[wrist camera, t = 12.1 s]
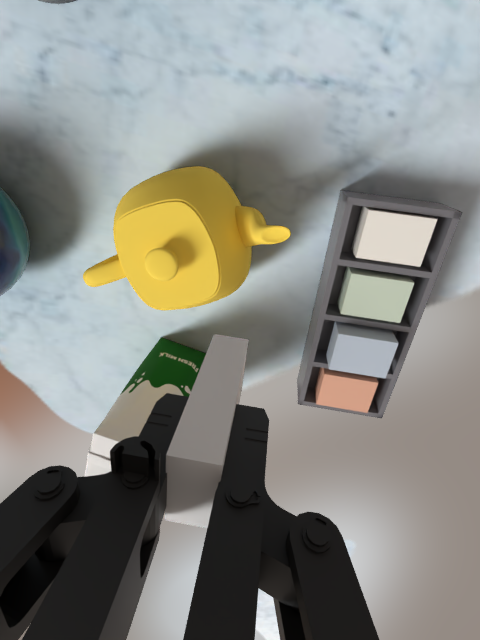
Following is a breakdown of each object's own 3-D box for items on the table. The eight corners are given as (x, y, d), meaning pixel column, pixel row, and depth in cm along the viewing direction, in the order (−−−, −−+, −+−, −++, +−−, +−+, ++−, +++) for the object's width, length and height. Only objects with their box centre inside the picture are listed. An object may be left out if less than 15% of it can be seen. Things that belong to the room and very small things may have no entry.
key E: (322, 359, 42) (324, 374, 40) (372, 367, 42) (378, 382, 39) (314, 388, 44) (316, 404, 42) (362, 396, 44) (367, 413, 41)
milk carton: (143, 379, 51) (63, 508, 33) (156, 328, 46) (74, 443, 29) (200, 400, 51) (153, 538, 33) (219, 351, 47) (176, 479, 29)
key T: (347, 263, 37) (351, 273, 34) (405, 272, 37) (414, 282, 34) (337, 302, 39) (340, 313, 36) (392, 310, 39) (400, 323, 36)
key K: (335, 320, 39) (338, 333, 36) (391, 329, 38) (398, 343, 35) (326, 354, 41) (328, 369, 38) (379, 362, 40) (385, 378, 38)
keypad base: (340, 190, 36) (347, 197, 32) (440, 203, 35) (462, 212, 31) (297, 379, 47) (298, 404, 43) (373, 392, 47) (381, 418, 42)
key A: (362, 204, 34) (368, 210, 32) (425, 213, 34) (437, 219, 31) (351, 249, 36) (355, 257, 34) (410, 257, 36) (420, 266, 33)
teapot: (303, 264, 40) (308, 310, 29) (146, 301, 45) (100, 354, 34) (274, 136, 35) (267, 134, 24) (99, 194, 39) (26, 215, 28)
